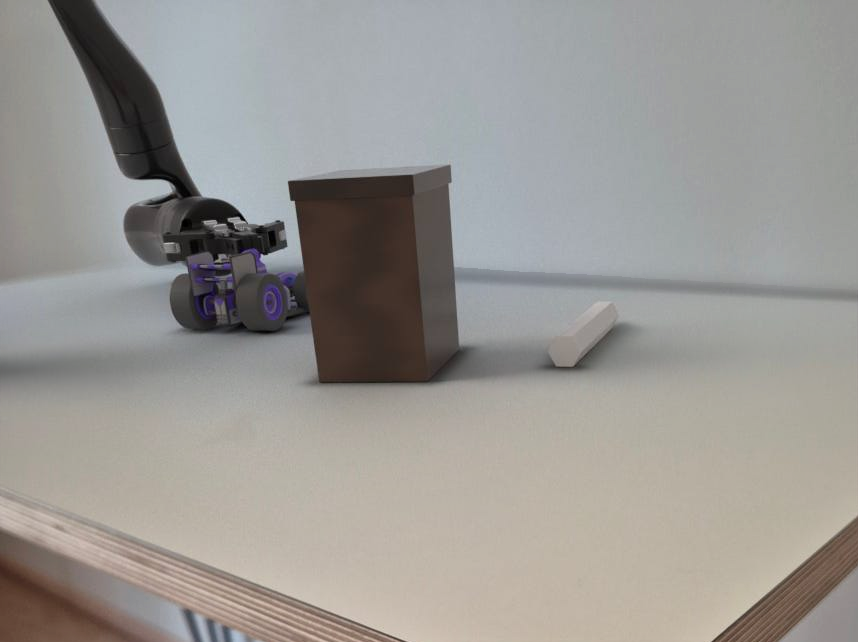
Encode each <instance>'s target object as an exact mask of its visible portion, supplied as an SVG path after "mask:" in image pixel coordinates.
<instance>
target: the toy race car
mask: <svg viewBox="0 0 858 642" xmlns="http://www.w3.org/2000/svg"><path fill="white" fill-rule="evenodd" d="M185 258H186V264H187V267H186V268H187V269H186V270H187V273H181V274H178V275H177V276H176V277H175V278H174V279H173V281H172V283H171V285H170V289H169V305H170V310H171V313H172V315H173V317H174V319H175V321H176V322H177V323H178V324H179V326H181V327H182V328H183V329H186V330H187V329H188V330H211V329H213V328H215V327H216V326H217V325H218V326H232V325H235V324H238V323H242V324H243V325H244V327H246V328H247V329H248V330H251V331H254V332H255V331H259V332H261V331H263V332H276V331H278V330H280V329H281V328H282V327H283V326H284V324H285V321H286V319H287V317H288V318H289V317H291V316H295V315H298V314H300V313H303V312H308V313H310V311H309V304H308V296H307V289H306V282H305V274H304V270H303V271H300V272H298V274H295V273H294V272H288V271H285V272H279V273H276V274H274V273H270V272H269V273H268V271H267V265H266V264H265V263H264V262H262V261H261V258H259V252H258V251H257V250H256V249H254V248H253V249H249V250H245V251H244V252H242V253H241V254H237V255H233V256H229V261H230V264H223V265H214V260H213V256H212V255H211V253H209V252H204V253H199V254H195V255H191V256H187V257H185ZM222 270H231V273H232V274H231V276H227V277H216V276H215V275H216V272H215V271H222ZM228 283H231V284H232V287H230V288H228V287H229V286H228ZM219 286H220V287H219ZM293 297H294V298H293ZM292 303H295V304H296V306H297V307H291V305H292Z"/></svg>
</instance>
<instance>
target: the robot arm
mask: <svg viewBox="0 0 858 642" xmlns="http://www.w3.org/2000/svg"><path fill="white" fill-rule="evenodd" d="M47 2H48V5H49V6H50V8H51V10H52V12H53V15H54V17H55V18H56V20H57V22H58V24H59V26H60V28H61V30H62V32H63V34H64V36H65V38H66V40H67V41H68V44H69V46H70V47H71V50H72V52H73V53H74V56H75V58H76V59H77V61H78V63H79V66H80V68H81V71H82V72H83V75H84V78H85V79H86V81H87V85H88V86H89V88H90V91H91V93H92V97H93V99H94V101H95V104H96V108H97V110H98V112H99V116H100V119H101V121H102V125H103V127H104V130H105V133H106V135H107V138H108V141H109V144H110V147H111V150H112V153H113V156H114V159H115V162H116V165H117V167H118V169H119V171H120V172H121V174H122V175H123V177H125V178H127V179H129V180H132V181H163V182H167V183H168V184H169V187H170V188H171V192H168V193H164V194H161V195H158V196H154V197H151V198H148V199H145V200H141V201H137V202H136V203H133V204H132V205H130V206H129V207H128V208H126V211H125V213H124V216H123V221H122V227H123V234H124V236H125V237H124V238H125V240H126V242H127V244H128V246H129V248H130V249H131V252H133V253H134V254H135V256H136V257H137V258H138V259H140V260H141V261H142V262H144V263H145V264H147V265H150V266H152V267H165V266H173V265H176V264H181V265H183V266H184V267H186V268H187V264H186V258H185V257H187V256H191V255H195V254H199V253H204V252H209V253H211V255H212V256H213V260H214V265H223V264H230V261H229V256H233V255H237V254H241V253H242V252H244V251H245V250H249V249H253V248H254V249H256V250H257V251H258V252H259V258H260V259H261V257H262V256H269V254H273V253H275V252H278V251H280V250H285V249H286V248H288V247H289V246H288V241H287V232H286V227H285V221H283V220H280V219H275V221H272V222H267V223H264V224H257V223H249V222H248V221H247V220H246V219H247V218H245V216H244V215H243V214H242V213H241V211H240V210H239V209H238V208H236V206H234V205H233V204H232V203H230V202H228V201H226V200H224V199H220V198H214V197H206V196H203V195H202V193H201V191H200V190H199V189H198V187H197V184H195V182H194V179H193V178H192V176H191V174H190V173H189V171H188V169H187V167H186V165H185V163H184V160H183V158H182V156H181V154H180V151H179V149H178V146H177V143H176V139H175V137H174V133H173V130H172V127H171V123H170V119H169V117H168V114H167V110H166V107H165V104H164V101H163V98H162V96H161V95H162V94H161V93H160V90H159V88H158V86H157V84H156V82H155V80H154V79H153V77H152V75H151V73H150V72H149V71H148V69H147V67H146V66H145V64H144V63H143V61H142V60H141V59H140V58H139V56H138V55H137V54H136V53H135V51H134V50H133V49H132V47H131V46H130V45H129V44H128V43H127V41H126V40H125V39H124V37H122V35H121V33H120V32H119V31H118V30H117V29H116V27H115V26H114V24H113V23H112V22H111V21H110V19H109V18H108V16H107V15H106V13H105V12H104V10H103V8H102V7H101V5H100V4H99V2H98V0H47ZM215 272H216V275H215V278H221V277H226V276H230V275H232V273H231V270H222V271H215Z"/></svg>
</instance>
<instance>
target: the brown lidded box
mask: <svg viewBox="0 0 858 642" xmlns="http://www.w3.org/2000/svg"><path fill="white" fill-rule="evenodd" d="M452 182H453V179H452V165H451V164H433V165H415V166H397V167H395V166H394V167H378V168H377V167H376V168H359V169H357V168H355V169H341V170H335V171H330V172H326V173H320V174H316V175H310V176H305V177H300V178H295V179H291V180H287V186H288V193H289V200H290V202H294V208H295V216H296V222H297V230H298V236H299V237H298V238H299V244H300V251H301V258H302V266H303V271H304V274H305V282H306V289H307V296H308V304H309V311H310V312H309V311H308V312H309V317H310V318H309V319H310V324H311V333H312V340H313V346H314V354H315V362H316V369H317V376H318V382H319V383H409V382H410V383H413V382H415V383H418V382H420V383H423V382H428V381H430V380H431V379H432V378H433V376H435V375H436V374H437V372H438V371H440V370H441V368H443V366H444V365H446V363H447V362H448V361H450V360H451V358H452V357H453V356H454V355H455V354H456V353H457V352H459V350H460V338H459V323H458V308H457V307H458V306H457V293H456V291H457V290H456V277H455V260H454V248H453V247H454V246H453V233H452V231H453V230H452V217H451V214H452V213H451V201H450V185H449V184H452Z"/></svg>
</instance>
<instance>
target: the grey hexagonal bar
mask: <svg viewBox="0 0 858 642" xmlns="http://www.w3.org/2000/svg"><path fill="white" fill-rule="evenodd" d="M619 317H620V313H619V311H618V310H617V308H616V306H615V304H614V303H613V301H596V302H595V303H594V304H592V306H590V307H589V308H588V309H586V310H585V311H584V312H583V313H581V315H579V316H578V317H576V318H575V319H574V320H573V321H572V322H571V323H570V324H569V325H566V326H565V328H564V329H562V330H561V331H560V332H559V333H557V334H556V335H555V336H554V338H553V340H552V342H551V344H550V346H549V347H548V350H547V353H548V355H549V356H550V358H551V360H552V362H553V364H554V365H555V367H561V368H563V367H565V368H573V367H575V366H576V365H577V364H578V362H580V361H581V360H582V358H584V357H585V355H587V354H588V353H589V352H590V351H591V349H593V348H594V347H595V346H596V345H597V344H598V343H599V342H600V341H601V340H602V339H603V338H604V337H605V336H606V335H607V334H608V333H609V332H610V331H611V330H612V329H613V327H614V326H615V324H616V322H617V321H618V319H619Z"/></svg>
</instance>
